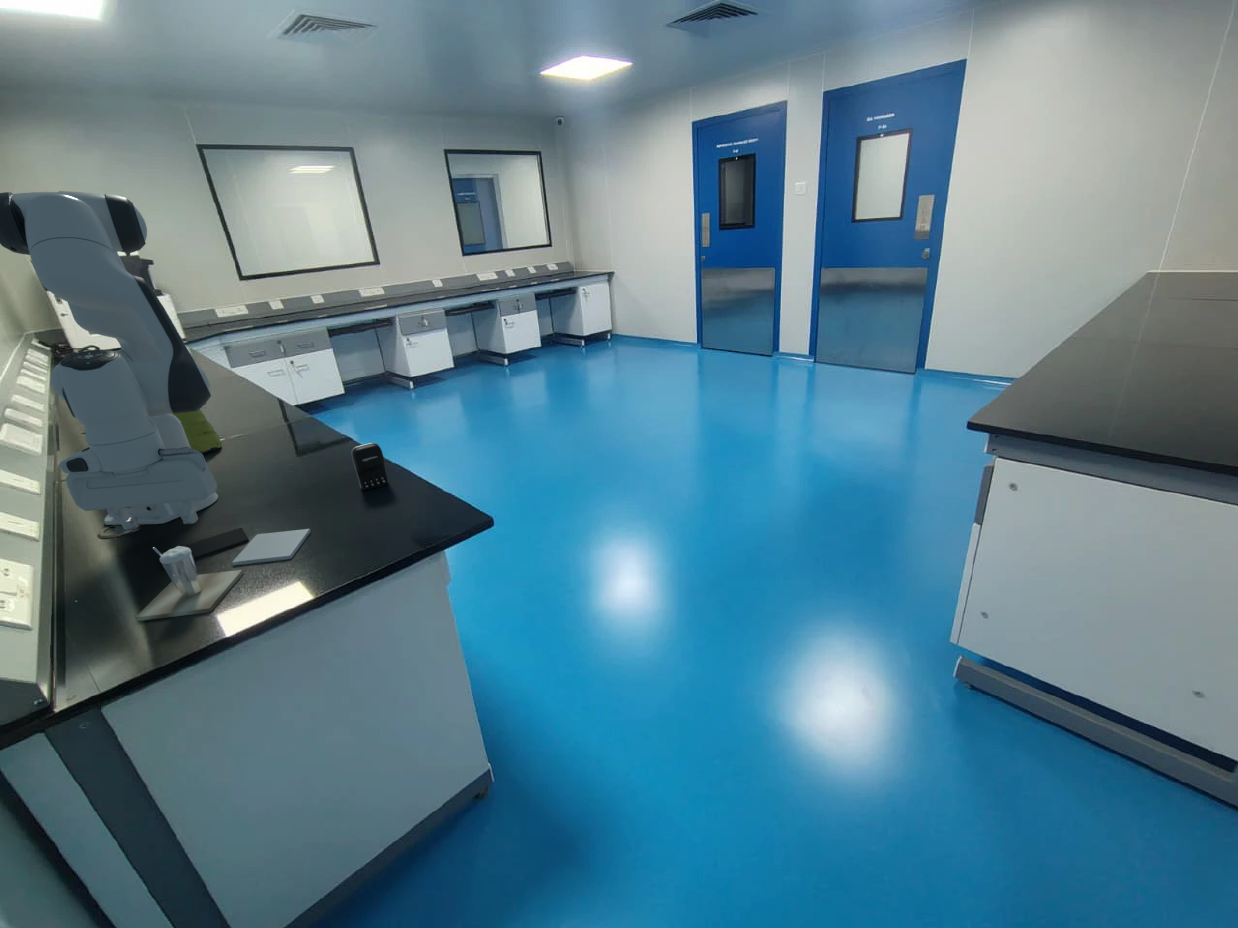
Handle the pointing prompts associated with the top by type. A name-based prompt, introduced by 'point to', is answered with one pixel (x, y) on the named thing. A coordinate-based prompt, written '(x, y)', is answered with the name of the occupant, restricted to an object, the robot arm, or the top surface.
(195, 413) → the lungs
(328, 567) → the top surface
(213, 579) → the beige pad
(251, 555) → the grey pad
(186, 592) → the milkshake
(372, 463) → the battery charger
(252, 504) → the top surface
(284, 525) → the top surface
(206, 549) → the phone
